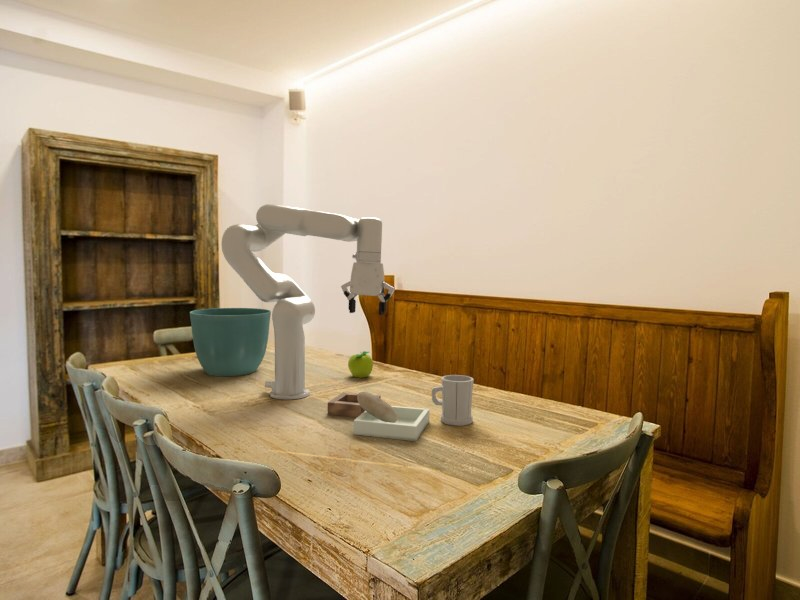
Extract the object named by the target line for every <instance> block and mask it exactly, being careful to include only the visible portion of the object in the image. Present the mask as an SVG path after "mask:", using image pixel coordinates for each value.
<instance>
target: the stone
mask: <svg viewBox="0 0 800 600" xmlns="http://www.w3.org/2000/svg"><path fill="white" fill-rule="evenodd" d="M357 394H358V396H357V400H358V403H359V404H360V406H361V407H362V408H363V409H364V410H365V411H367V412H368V413H369V414H371V415H372V416H374V417H376V418H378V419H380V420H382V421H384V422H390V423H395V422H396V421H397V420H398V415H397V412H396V411H395V409H394V408H393V407H392V406H393V405H391V404H389V403H388V402H387V401H385V400H384V399H382V398H381V399H380V398H379V397H377V396H375V395H376V394H374V393H373V394H372V393H371V392H367V391H360V392H359V393H357Z"/></svg>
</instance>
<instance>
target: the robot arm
mask: <svg viewBox="0 0 800 600" xmlns="http://www.w3.org/2000/svg"><path fill="white" fill-rule="evenodd" d="M255 218H256V222H257V224H255V225H254V226H253V225H249V224H242V223H241V224H239V223H238V224H233V225H230V226H229V227H227V228H226V229H225V230H224V232H223V234H222V237H221V251H222V254H223V257H224V259H225V261H226V262H227V263H228V265H229V266H230V267H231V268H232V269H233V270H234V271H235V273H236V274H237V275H238V276H239V278H241V279H242V280H243V282H244V283H245V284H246V285H247V287H248V288H250V291H252V293H254V294H255V296H256V297H257V298H258V299H259V300H261V301H262V302H264V303H275V305H273V308H272V311H271V319H272V325H273V333H274V334H273V335H274V380H273V381H272V380H265V382H264V388H270V389H271V390H270V392H269V397H270V398H273V399H276V400H285V401H287V400H288V401H289V400H298V399H300V400H301V399H303V398H306V397H308V396H309V395H310V392H311V391H310V390H309V389H308V388H306V387H305V386H306V383H305V382H306V339H305V330H304V328H303V327H304V326H303V325H306V324H308V323H310V322H311V321H312V320H313V319H314V317H315V314H316V308H315V305H314V303H313V301H312V300H311V298H310V297H309V296H308V295H307V293H305V292H304V290H302V288H301V287H300V286H299V285H298V284H297V283H296V281H294V279H292V278H291V277H290V276H289V275H287V274H284V273H281V272H280V273H278V272H277V273H276V272H273V271H272V270H270V268H268V267H267V265H266V264H265V263H264V262H263V260H261V258H260V257H258V256H257V255H255V254H254V253H253V252H260V251H263V250H265V249H267V247H269V246H271V245H272V244H273V243H275V242H276V241H278V240H279V239H280V238H281V237H283V236H284V235H285V234H287V235H288V234H289V235H293V236H299V237H300V236H301V237H306V236H309V237H310V236H311V237H317V238H322V239H323V238H325V239H332V240H336V241H342V242H349V243H351V242H352V243H353V242H356V252H355V253H353V254H352V256H351V257H352V259H355V261H356V262H353V264H352V267H351V268H352V269H351V272H350V273H351V274H350V281H348V282H345V283H344V284H342V285H341V286H340V288H341V289H342V290H341V291H342V292H343V295H344V296H345V297H346V298H347V300H348V312H349V314H354V313H356V306H357V305H356V303H357V301H356V299H355V298H356V297H357V296H370V297H371V296H373V297H374V296H377V298H378V299H379V302H378V315H379V316H383V315H385V313H386V311H387V310H386V309H387V308H386V307H387V302H388V301H389V300H390V298H392V295H393V294H394V292H395V291H396V288H395V287H394V286H392V285H390V284H389V283H387V282H385V270H384V264H383V263H382V240H383V239H382V238H383V222H382V220H381V219H380V218H377V217H370V216H369V217H366V216H365V217H361V218H358V219H357V218H353V217H350V216H346V215H343V214H338V213H331V212H325V211H318V210H312V209H311V210H310V209H308V208H301V207H300V208H299V207H293V206H286V205H281V204H280V205H279V204H271V203H268V204H264V205H261V206H260V207H259V208H258V209H257V211H256V214H255ZM348 289H349V290H348ZM385 289H386V290H388V291H387V293H386V294H385Z"/></svg>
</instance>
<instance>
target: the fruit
mask: <svg viewBox="0 0 800 600" xmlns="http://www.w3.org/2000/svg"><path fill="white" fill-rule="evenodd" d="M369 353H370V351H365V350H364V351H361V353H360V354H358V353H357V354H353V355H351V356H350V358H349V359H348V364H347V366H348V369H349V371H350V374H351V376H353V377H354V378H357V379H364V378H367V377H368V376H370V375H371V373H372V371H373V369H374V368H373V367H374V362H373V358H372V357H371V356H370V355H369Z"/></svg>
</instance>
